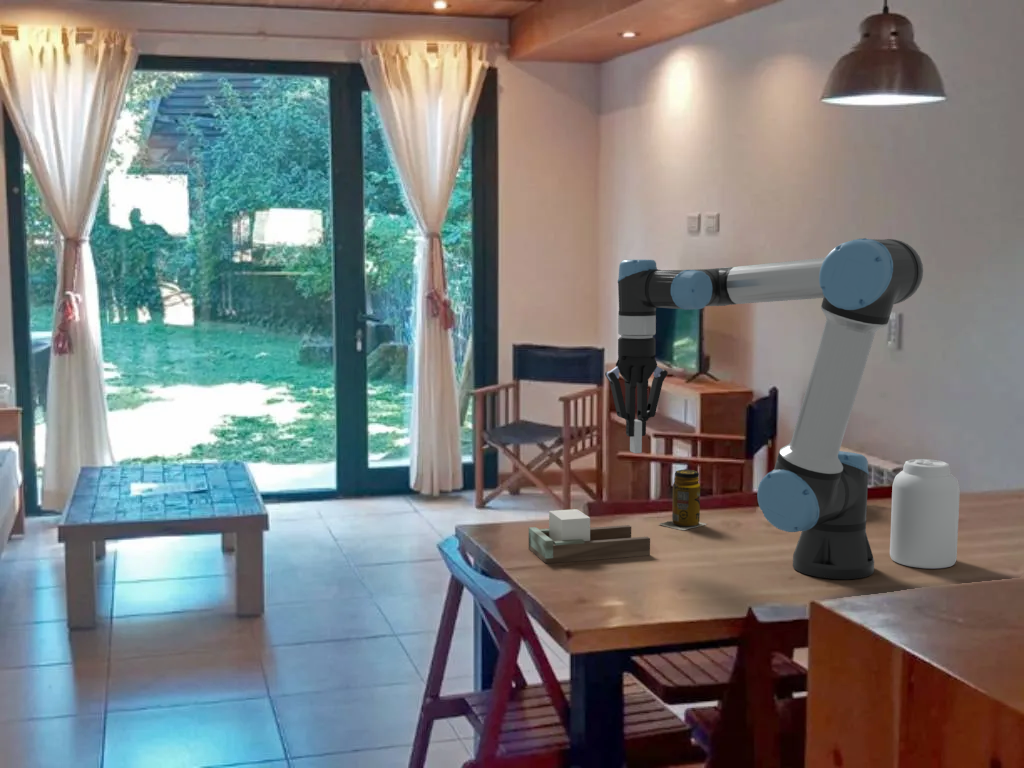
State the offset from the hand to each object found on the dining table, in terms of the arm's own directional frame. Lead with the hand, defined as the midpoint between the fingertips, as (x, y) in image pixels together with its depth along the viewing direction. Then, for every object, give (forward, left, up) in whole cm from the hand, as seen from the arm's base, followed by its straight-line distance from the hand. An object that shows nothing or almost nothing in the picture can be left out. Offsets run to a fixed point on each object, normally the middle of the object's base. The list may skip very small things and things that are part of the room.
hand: (635, 451), depth 243 cm
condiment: (+16, -18, -20) cm, 32 cm away
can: (-25, -51, -20) cm, 60 cm away
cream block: (0, +14, -19) cm, 24 cm away
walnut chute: (0, +10, -20) cm, 22 cm away
